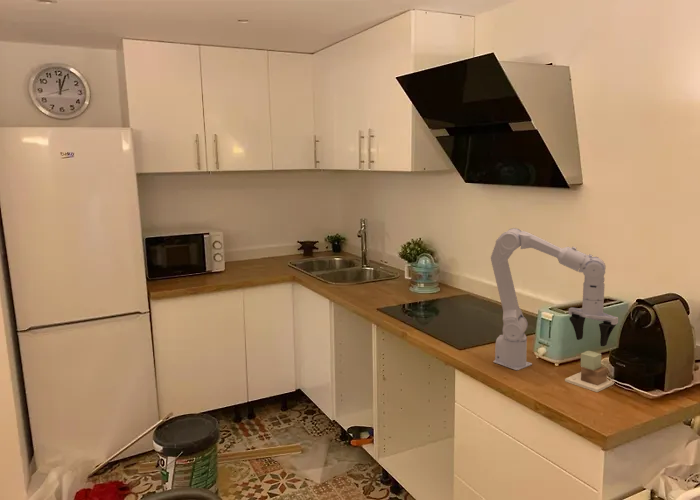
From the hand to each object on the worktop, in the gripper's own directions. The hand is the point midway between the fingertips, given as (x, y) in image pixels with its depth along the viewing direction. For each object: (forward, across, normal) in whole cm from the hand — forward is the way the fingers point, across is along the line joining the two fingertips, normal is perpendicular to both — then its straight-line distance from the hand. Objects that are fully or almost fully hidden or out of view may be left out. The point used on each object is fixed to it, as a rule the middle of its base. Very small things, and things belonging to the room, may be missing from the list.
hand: (591, 342), depth 159 cm
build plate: (+10, +3, -5) cm, 12 cm away
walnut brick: (+10, +4, -5) cm, 12 cm away
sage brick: (+6, +3, -5) cm, 8 cm away
